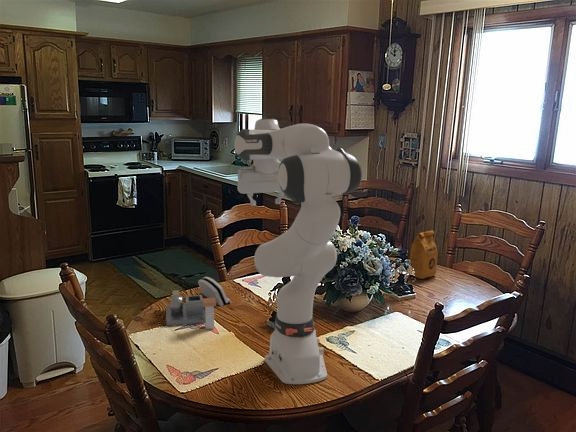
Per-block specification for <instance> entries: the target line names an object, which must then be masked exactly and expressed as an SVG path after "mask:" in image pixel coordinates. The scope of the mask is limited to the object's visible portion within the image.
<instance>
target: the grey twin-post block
mask: <svg viewBox="0 0 576 432" xmlns="http://www.w3.org/2000/svg"><path fill="white" fill-rule="evenodd" d="M202 299H203V294H195V295H186V296H185V303H184V302H183V300H184V299H183V295H181V294H180V290H179V289H178V290H177V289H176V290H172V296H170V305H165V322H166V327H174V326H173V325H177V326H184V325H183V324H188V325H198V324H205V307H203V303H202ZM197 323H198V324H197Z"/></svg>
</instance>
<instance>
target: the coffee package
mask: <svg viewBox="0 0 576 432" xmlns="http://www.w3.org/2000/svg"><path fill="white" fill-rule="evenodd" d="M433 235H435V232H434V230H428V231H427V230H426V231H422V232H420V233H418V234H417V236H416V237H415V239H414V240H413V242H412V244H411V246H410V247H411V248H410V255H409V263H410V262H411V264H412V266H413V267H414V271H415V277H414V278H417V279H422V280H423V279H426V278H431V277H434V276H436V274H437V270H438V269H437V264H438V248H437V244H436V243H435V240H434V236H433Z"/></svg>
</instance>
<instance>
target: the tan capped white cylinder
mask: <svg viewBox="0 0 576 432" xmlns="http://www.w3.org/2000/svg"><path fill="white" fill-rule="evenodd" d="M202 298H203V297H202ZM202 303H203V308H204V312H205V323H204V327H205V330H206V331H208V330H215V307H217V303H216V300H215V298H208V297H205V298H203V299H202Z"/></svg>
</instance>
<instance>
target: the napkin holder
mask: <svg viewBox="0 0 576 432" xmlns="http://www.w3.org/2000/svg"><path fill="white" fill-rule="evenodd" d="M197 283H198V286H199V289H200V292H201V295H202V296H204V297H205V298H215V300H216V305H218V306H219V307H223V306H224V304H228V303H229V304H232V301H231V299H230V298H228V297H227V294H226V292H225V291H224V288H223V287H222V285H220V284H219V283H218V281H216V280H215V279H214V278H211V277H209V276H204V277H202V278H201V279H198V281H197Z"/></svg>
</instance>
